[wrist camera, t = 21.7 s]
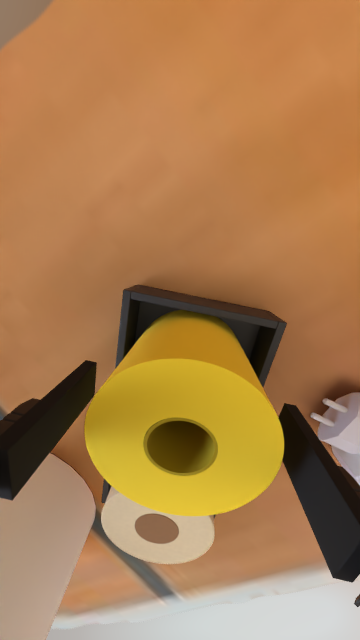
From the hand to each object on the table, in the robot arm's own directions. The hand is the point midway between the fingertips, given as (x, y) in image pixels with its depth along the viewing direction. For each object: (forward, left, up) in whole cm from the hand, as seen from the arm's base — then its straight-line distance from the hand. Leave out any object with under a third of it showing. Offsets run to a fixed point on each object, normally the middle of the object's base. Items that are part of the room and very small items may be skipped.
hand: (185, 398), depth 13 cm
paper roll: (0, -12, -6) cm, 13 cm away
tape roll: (0, 0, -6) cm, 6 cm away
